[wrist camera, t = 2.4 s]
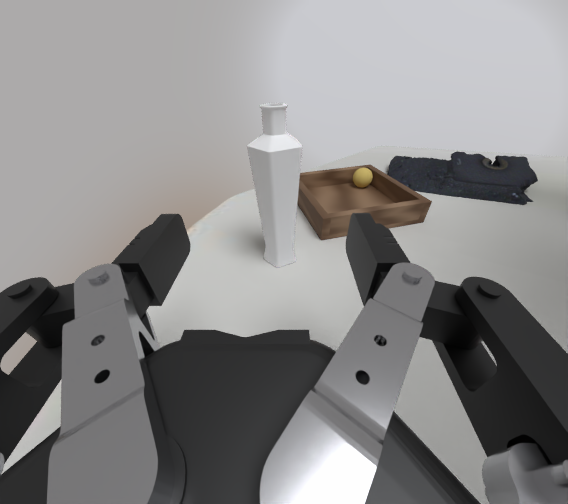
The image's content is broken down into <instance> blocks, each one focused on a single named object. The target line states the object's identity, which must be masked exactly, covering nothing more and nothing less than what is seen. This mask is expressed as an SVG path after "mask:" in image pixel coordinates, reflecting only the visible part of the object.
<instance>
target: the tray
mask: <svg viewBox="0 0 568 504" xmlns="http://www.w3.org/2000/svg"><path fill="white" fill-rule="evenodd" d="M359 168H368V169H369V170H370V171H371V172H372V175H373V178H372V181H371V183H370V184H369V185H368V186H366V187H357V186H356V185H355V184H354V182H353V175H354V173H355V171H356V170H358V169H359ZM431 202H432V201H430V200H428V199H427V198H425V197H423V196H422V195H420V194H418V193H417V192H415V191H413V190H412V189H410V188H408V187H407V186H405V185H403V184H402V183H400V182H398V181H397V180H395V179H393V178H392V177H390V176H388V175H387V174H385V173H383V172H382V171H380V170H378V169H377V168H375V167H373V166H372V165H364V166H355V167H347V168H339V169H330V170H322V171H314V172H305V173H300V179H299V191H298V202H297V204H298V206H299V207H300V209H301V210H302V212H303V213H304V215H305V216H306V218H307V219H308V221H309V222H310V224H311V225H312V227H313V228H314V230H315V231H316V233H317V234H318V236H319V238H320V239H321V240H325V239H331V238H336V237H342V236H347V233H348V228H349V223H350V218H351V215H352V213H370V214H371V216H372V218H373V220H374V221H375V223H381V224H382V225H383V226H385V227H386V228H393V227H398V226H404V225H410V224H415V223H421V222H424V219H425V217H426V214H427V212H428V210H429V207H430V205H431Z"/></svg>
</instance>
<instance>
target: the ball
mask: <svg viewBox="0 0 568 504" xmlns="http://www.w3.org/2000/svg"><path fill="white" fill-rule="evenodd" d="M372 178H373V175H372V172H371V171H370V170H369V169H368V168H359V169H358V170H356V171H355V173H354V175H353V182H354V184H355V185H356V186H357V187H366V186H368V185H369V184H370V183H371V181H372Z"/></svg>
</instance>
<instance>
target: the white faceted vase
mask: <svg viewBox="0 0 568 504" xmlns="http://www.w3.org/2000/svg"><path fill="white" fill-rule="evenodd" d="M287 106H288V105H287V104H286V103H267V104H263V105H260V108H261V109H262V121H263V134H262V135H261V136H259V137H258V138H256V139H255V140H254V141H252V142H251V143H250V144H248V145H247V148H248V154H249V159H250V164H251V169H252V175H253V181H254V185H255V191H256V197H257V202H258V207H259V213H260V218H261V224H262V229H263V234H264V240H265V245H266V248H265V253H264V257H263V258H264V259H265V260H266V261H268V262H269V263H271V264H272V265H273V266H275V267H277V268H279V267H282V266H285V265H288V264H291V263H293V262H296V261H297V259H296V256H295V252H294V237H295V226H296V214H297V202H298V191H299V179H300V166H301V156H302V155H301V154H302V145H301V144H300V142H299V141H298V140H297V139H296V138H295V137H293V136H291V135H290V134H288V133H287V132H286V108H287Z"/></svg>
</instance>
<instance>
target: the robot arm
mask: <svg viewBox="0 0 568 504" xmlns="http://www.w3.org/2000/svg"><path fill="white" fill-rule="evenodd" d="M189 252H190V241H189V238H188V235H187V232H186V229H185V225H184V223H183V219H182V217H181V216H180V215H179V214H161V215H160V216H159V217H158V218H157V219H156V221H155V222H154V223H153V224H152V225H149V226H148V227H146V228H145V229H143V230H141V231H140V232H139V234H138V235H137V236H136V237H135V239H133V240H132V241H131V242H130V245H128V246H127V247H126V248H125V249H124V250H123V251H122V252H121V253H120V254H119V256H118V257H117V258H116V259H115V260H114V261H113V262H112V263H111V264H104V265H100V266H96V267H94V268H91V269H89V270H87V271H85V272H84V273H83V274H81V275H80V276H79V277H78V278H77V279H76V281H75V283H72V284H68V285H63V286H58V287H54V286H53V285H52V284H51V283H50V282H49V281H48V280H47V279H46V278H41V277H38V278H31V279H27V280H24V281H21V282H19V283H16V284H14V285H12V286H10V287H8V288H7V289H5V290H4V291H2V292H1V293H0V363H1V359H2V357H3V356H4V354H5V353H6V352H7V351H8V350H9V349H10V348H11V347H12V346H13V345H14V344H15V342H16V341H17V340H18V339H19V338H20V337H21V336H22V335H23V334H24V333H25V332H27V333H28V334H29V335H30V336H32V337H33V338H34V339H35V340H36V341H37V342H36V344H35V345H34V346H33V347H32V348H31V350H30V351H29V352H28V353H27V354H26V355H25V356H24V358H23V359H22V360H21V361H20V363H19V364H18V365H17V366H16V367H15V368H14V370H13V371H12V372H11V373H10V374H9V375H7V374H6V373H4V372H3V371H2V370H1V368H0V504H480V503H479V502H478V501H477V499H476V498H475V497H474V496H473V495H472V494H471V493H470V492H469V491H468V490H467V489H466V488H465V487H464V486H463V484H462V483H461V482H460V481H459V480H458V479H457V478H456V477H455V476H454V475H453V474H452V473H451V472H450V471H449V470H448V468H447V467H446V466H445V465H444V464H443V463H442V462H441V461H440V460H439V459H438V458H437V457H436V456H435V455H434V454H433V453H432V451H431V450H430V449H429V448H428V447H427V446H426V445H425V444H424V443H423V442H422V441H421V440H420V439H419V438H418V437H417V435H416V434H415V433H414V432H413V431H412V430H411V429H410V428H409V427H408V426H407V425H406V424H405V423H404V422H403V421H402V419H401V418H400V417H399V416H398V415H397V414H396V413H395V412H394V411H393V410H394V407H395V404H396V402H397V399H398V396H399V393H400V390H401V387H402V384H403V381H404V379H405V376H406V373H407V370H408V367H409V364H410V361H411V358H412V356H413V353H414V350H415V347H416V344H417V341H418V338H419V337H423V338H426V339H430V340H432V341H433V343H434V345H435V347H436V349H437V351H438V353H439V356H440V358H441V360H442V362H443V364H444V366H445V368H446V370H447V373H448V375H449V377H450V379H451V381H452V383H453V385H454V387H455V390H456V392H457V394H458V396H459V398H460V400H461V402H462V404H463V406H464V409H465V411H466V413H467V415H468V417H469V419H470V421H471V423H472V426H473V428H474V430H475V432H476V434H477V436H478V438H479V440H480V442H481V445H482V447H483V449H484V451H485V453H486V455H487V457H488V458H487V459H486V460H485V461H484V464H483V468H482V476H483V481H484V485H485V494H486V497H487V499H488V501H489V503H490V504H568V354H567V353H566V352H565V351H564V350H563V348H562V347H561V346H560V345H559V344H558V343H557V342H556V341H555V340H554V339H553V338H552V337H551V335H550V334H549V333H548V332H547V331H546V330H545V329H544V328H543V327H542V326H541V325H540V324H539V323H538V321H537V320H536V319H535V318H534V317H533V316H532V315H531V314H530V313H529V312H528V311H527V310H526V308H525V307H524V306H523V305H522V304H521V303H520V302H519V301H518V300H517V299H516V298H515V297H514V296H513V294H512V293H511V292H510V291H509V290H507V289H506V288H505V287H503V286H502V285H500V284H498V283H496V282H494V281H492V280H489V279H485V278H481V277H468V278H466V279H465V280H464V281H463V282H462V284H461V285H460V286H456V285H451V284H447V283H442V282H438V281H435V280H434V277H433V276H432V275H431V273H430V272H428V271H427V270H426V269H424V268H423V267H421V266H418V265H416V264H412V263H410V261H409V260H408V258H407V257H406V255H405V253H404V252H403V250H402V249H401V247H400V246H399V244H397V241H396V239H395V238H394V236H393V235H392V233H391V232H390V230H389V229H388V228H386V227H385V226H383V225H382V224H381V223H375V221H374V220H373V218H372V216H371V214H370V213H352V215H351V218H350V223H349V228H348V233H347V239H346V253H347V256H348V259H349V262H350V265H351V268H352V271H353V274H354V278H355V281H356V284H357V287H358V290H359V293H360V296H361V299H362V302H363V305H364V308H363V309H362V311H361V313H360V314H359V316H358V318H357V319H356V321H355V322H354V324H353V326H352V327H351V329H350V330H349V332H348V334H347V335H346V337H345V339H344V340H343V342H342V343H341V345H340V347H339V348H338V350H337V351H334V350H333V349H331V348H330V347H328V346H326V345H324V344H322V343H319V342H316V341H313V340H310V336H309V330H276V331H272V332H267V333H263V334H259V335H255V336H250V337H240V336H237V335H233V334H229V333H225V332H221V331H217V330H184V332H183V335H182V337H181V340H179V341H176V342H173V343H170V344H168V345H166V346H163V347H161V348H160V346H159V343H158V340H157V338H156V335H155V332H154V329H153V326H152V323H151V320H150V317H149V314H148V313H147V311H146V310H147V309H148V307H149V306H162V304H163V302H164V300H165V298H166V296H167V294H168V292H169V291H170V289H171V287H172V285H173V283H174V281H175V279H176V277H177V275H178V274H179V272H180V270H181V268H182V266H183V264H184V262H185V260H186V259H187V257H188V255H189ZM482 341H484V342H485V344H486V345H487V347H488V348H489V350H490V351H491V353H492V354H493V356H494V358H495V360H496V364H497V366H496V365H495V363H494V362H493V360H492V358H491V357H490V355H489V354H488V352H487V351H486V349H485V348H484V346H483V345H482V343H481V342H482ZM61 379H62V387H61V427H59V428H58V429H57V430H56V431H54V432H53V433H52V434H51V435H49V436H48V437H47V438H46V439H45V440H43V441H42V442H41V443H40V444H38V445H37V446H36V447H35V448H34V449H32V450H31V451H30V452H29V453H27V454H26V455H25V456H24V457H22V458H21V459H20V460H19V461H18V462H16V463H15V464H14V465H13V466H11V467H10V468H9V469H8V470H6V471H5V472H4V473H3V474H2V475H1V473H2V471H3V467H4V464H5V462H6V461H7V459H8V458H9V456H10V455H11V453H12V452H13V450H14V449H15V447H16V446H17V444H18V443H19V441H20V440H21V438H22V437H23V435H24V434H25V432H26V431H27V429H28V428H29V426H30V425H31V423H32V422H33V420H34V419H35V417H36V416H37V414H38V413H39V411H40V410H41V408H42V407H43V406H44V404H45V403H46V401H47V400H48V398H49V397H50V395H51V394H52V392H53V391H54V389H55V388H56V386H57V385H58V383H59V382H60V380H61Z"/></svg>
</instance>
